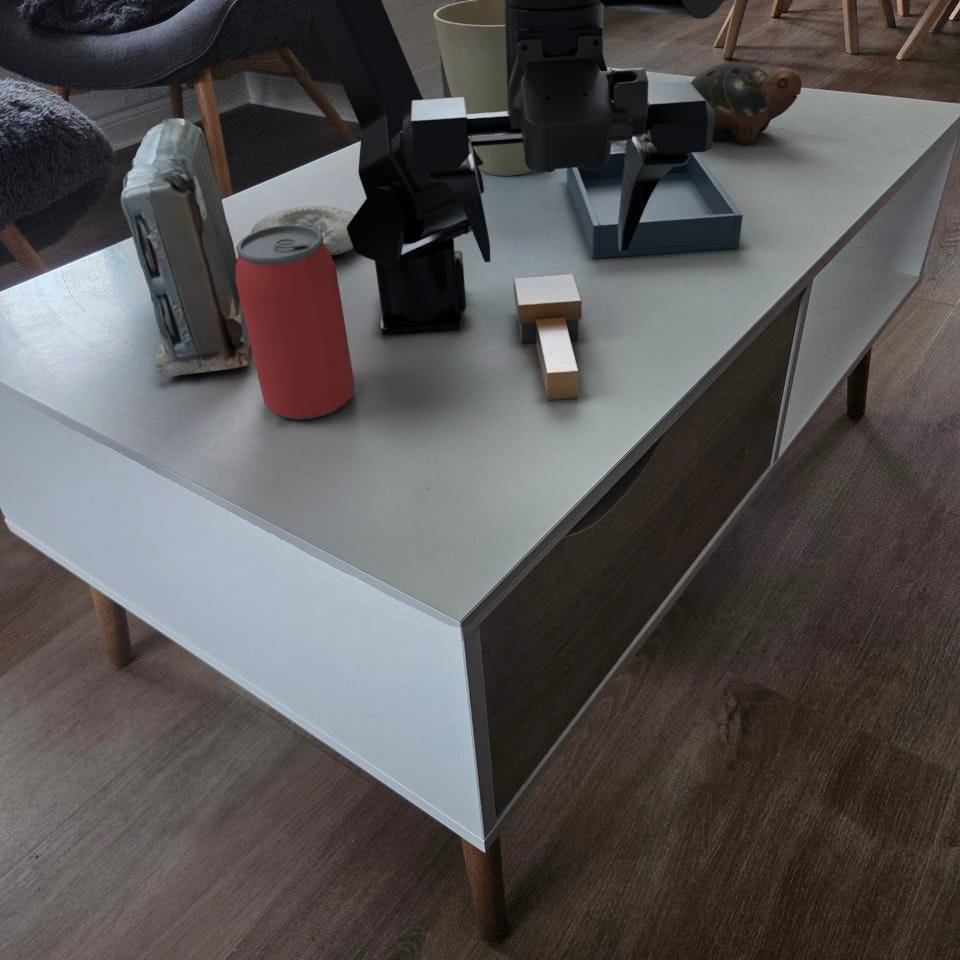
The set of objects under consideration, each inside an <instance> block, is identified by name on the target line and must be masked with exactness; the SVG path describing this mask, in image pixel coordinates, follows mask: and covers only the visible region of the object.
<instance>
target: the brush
mask: <svg viewBox="0 0 960 960" xmlns="http://www.w3.org/2000/svg"><path fill="white" fill-rule="evenodd" d="M512 281H513V282H512V283H513V299H514V305H515V310H516V311H515V312H516V316H517V323H518V329H519V335H520V341H521V344H523V345H524V344H536V349H537V354H538V360H539V366H540V370H541V374H542V380H543V381H542V382H543V385H544V390H545V396H546V400H547V401H551V400H552V401H553V400H567V399H577V398H579V375H580V374H579V373H580V371H579V368H578V364H577V360H576V357H575V356H576V355H575V351H574V348H573V344H572V341H577V340H579V327H580V326H579V323H580V321H579V320H582V318H583V317H582V316H583V315H582V313H583V310H582V309H583V301H582V298H581V294H580V290H579V286H578V284H577V280H576V277H575V274H574V273H568V274H567V273H566V274H556V275H554V274H553V275H540V276H528V277H527V276H526V277H514V278H513V279H512Z"/></svg>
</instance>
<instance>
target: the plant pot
mask: <svg viewBox="0 0 960 960" xmlns="http://www.w3.org/2000/svg"><path fill="white" fill-rule="evenodd" d="M504 3H505V2H504V0H465V1H458V2H455V3H451V4H447V5H443V6H442V7H440V8H438V9H436V10H435V11H434V12H433V21H434V26H435V30H436V31H435V32H436V36H437V42H438V47H439V52H440V56H441V57H440V58H441V61H442V66H443V70H444V74H445V77H446V81H447V86H448V89H449V92H450V96H451V98H456V97H464V99H465V107H466V114H475V113H489V112H503V111H508V96H507V66H506V36H505V6H504ZM473 148H474V150H475V152H476V153H477V155H478V156H479V157H480V158H481V160H482V161H483V165H481V166H479V170H480V172H481V173H482V172H483V173H485V174H488V175H493V176H499V177H501V176H502V177H503V176H504V177H505V176H506V177H508V176H509V177H511V176H520V175H525V174H530V173H533V172H534V171H533V170H531V169H529V168H528V167H527V165H526V163H525V157H524V147H523V143H514V144H500V145H486V146H473Z"/></svg>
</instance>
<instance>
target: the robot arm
mask: <svg viewBox="0 0 960 960" xmlns="http://www.w3.org/2000/svg"><path fill="white" fill-rule="evenodd" d="M304 1H305V3H306V6H307V8H308V10H309V13H310V14H311V17H312V19H313V21H314V23H315V25H316V28H317V30H318V33H319V36H320V37H321V40H322V43H323V44H324V47H325V49H326V52H327V53H328V56H329V58H330V60H331V62H332V65H333V67H334V70H335V72H336V74H337V77H338V79H339V81H340V83H341V85H342V88H343V90H344V92H345V94H346V96H347V99H348V102H349V103H350V106H351V108H352V110H353V113H354V115H355V117H356V119H357V122H358V125H359V127H360V131H361V133H360V134H361V135H360V146H359V157H358V169H357V170H358V171H357V173H358V177H359V180H360V183H361V186H362V187H363V192H364V195H365V198H366V199H365V200H364V201H363V202H362V204H361V206H360V207H359V208H358V210H357V212H356V213H354V215H355V216H354V217H353V218H352V220H351V221H350V223H349V224H348V225H347V232H348V234H349V237H350V240H351V243H352V245H353V248H352V249H353V252H354V253H355V254H356V255H358V256H361V257H363V258H366V259H368V260H371V261H374V267H375V273H376V281H377V289H378V296H379V303H380V311H381V312H380V323H379V324H380V325H379V328H380V332H381V333H382V334H396V333H397V334H399V333H412V332H427V331H441V330H453V329H459V328H462V326H463V325H462V324H463V323H462V312H465V311H466V310H467V301H466V299H467V297H466V286H465V283H466V282H465V269H464V258H463V252H462V251H461V250H455V239H456V238H459V237H461V236H462V235H467V234H470V233H472V234H473V237H474V239H475V241H476V244H477V246H478V249H479V251H480V254H481V257H482V259H483V261H484V262H485V263H490V262H491V243H490V236H489V229H488V228H489V227H488V223H487V219H486V213H485V208H484V203H483V197H482V194H484V193H485V185H484V179H483V176H482V171H481V170H479V166H481V165H483V161H482V160H481V158H480V157H479V156H478V155H477V153H476V152H475V150H474V148H473V146H486V145H500V144H514V143H523V147H524V157H525V163H526V165H527V167H528V168H529V169H531V170H533V171H532V172H535V173H541V174H543V173H545V174H546V173H552V172H554V171H555V170H561V169H567V168H577V167H584V168H586V169H588V170H590V169H598V168H601V167H603V166H605V165H607V163H608V162H609V160H610V152H612V151H611V150H612V143H615V142H625V150H624V151H625V159H624V169H623V179H622V189H621V199H620V209H619V219H618V246H619V250H620V252H621V253H625V252H627V250H628V248H629V245H630V243H631V241H632V238H633V236H634V233H635V231H636V229H637V226H638V224H639V222H640V219H641V217H642V214H643V212H644V210H645V209H644V208H645V207H646V205H647V203H648V200H649V198H650V196H651V195H652V193H653V191H654V189H655V187H656V186H657V184H658V182H659V181H660V179H661V178H662V177H663V176H664V175H665V174H666V173H667V172H668V171H669V170H670V169H671V168H672V167H674V166H681V165H685V164H686V163H687V162H688V160H689V157H690V156H689V154H688V153H693V152H697V153H705V152H707V151H710V150H711V149H712V148H713V141H714V140H713V130H714V114H713V108H712V107H711V106H710V104H709V103H708V102H707V101H706V100H705V99H704V98H703V96H702V95H701V94H700V93H699V92H698V91H697V90H696V89H695V87H694V86H693V85H692V84H691V83H690V82H691V81H689V80H688V81H673V82H671V81H670V82H657V83H649V79H648V78H649V77H648V74H647V71H646V68H645V67H634V68H632V67H630V68H618V69H617V68H616V69H612V71H609V70H608V68H607V67H608V66H607V64H606V61H605V58H604V51H603V50H604V40H603V39H604V6H605V7H607V8H608V9H617V10H622V11H623V10H625V11H632V12H641V13H650V14H656V15H665V16H673V17H682V18H690V19H700V20H704V19H706V18H709V17H711V16H712V15H713V14H715V13H716V12H717V11H718V10H719V9H720V8H721V5H723V4H724V3H725V0H504V2H505V3H504V6H505V36H506V66H507V96H508V111H503V112H489V113H475V114H466V107H465V99H464V97H456V98H452V97H444V98H442V97H441V98H432V99H431V98H428V99H424V97H423V95H422V93H421V90H420V89H419V86H418V84H417V81H416V78H415V76H414V73H413V71H412V69H411V67H410V65H409V61H408V60H407V57H406V55H405V52H404V50H403V47H402V45H401V43H400V41H399V39H398V36H397V34H396V33H397V32H395V28H394V26H393V24H392V21H391V19H390V16H389V15H388V12H387V10H386V7H385V5H384V2H383V0H304ZM606 66H607V67H606Z"/></svg>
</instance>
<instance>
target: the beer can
mask: <svg viewBox="0 0 960 960" xmlns="http://www.w3.org/2000/svg"><path fill="white" fill-rule="evenodd" d="M250 233H251V232H250ZM250 233H249V234H247V235H246V236H244V237H242V238H241V239H240V240H239V242H238V243H237V245H236V247H235V249H236V253H237V257H236V259H237V264H236V284H237V289H238V293H239V297H240V302H241V306H242V310H243V315H244V319H245V323H246V327H247V332H248V336H249V340H250V345H251V349H252V350H251V354H252V356H253V361H254V365H255V370H256V374H257V378H258V382H259V387H260V391H261V392H260V393H261V395H262V399H263V404H264V405H265V406H266V407H267V408H268V409H269V410H270V411H271V412H272V413H273V414H275V415H277V416H280V417H282V418H286V419H290V420H291V419H292V420H311V419H317V418H322V417H324V416H328V415H330V414H333V413H334V412H336V411H338V410H339V409H341V408H343V407H344V406H345V405H346V404H347V403H348V402H349V401H350V400H351V398H352V397H353V394H354V390H355V387H356V384H355V378H354V371H353V366H352V361H351V360H352V359H351V352H350V347H349V341H348V335H347V329H346V324H345V323H346V321H345V316H344V311H343V310H344V309H343V305H342V298H341V297H342V296H341V292H340V285H339V281H338V280H339V279H338V274H337V272H338V271H337V268H336V265H335V262H334V260H333V257H332V255H330V253H329V251H328V249H327V248H326V246H325V244H324V243H323V237H322V234H321V233H320V232H318V231H317V230H315V229H314V228H311V227H307V226H301V225H281V226H274V227H268V228H265V229H261V230H258V231H255V232H253V233H251V234H250Z"/></svg>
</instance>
